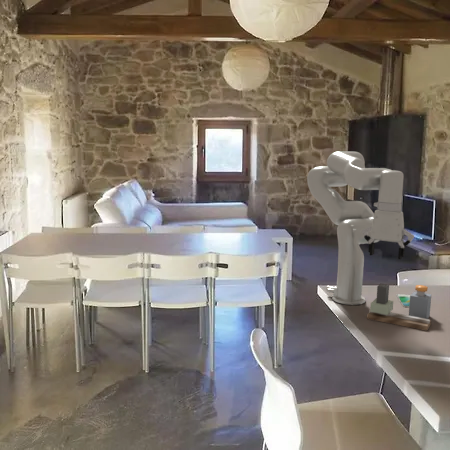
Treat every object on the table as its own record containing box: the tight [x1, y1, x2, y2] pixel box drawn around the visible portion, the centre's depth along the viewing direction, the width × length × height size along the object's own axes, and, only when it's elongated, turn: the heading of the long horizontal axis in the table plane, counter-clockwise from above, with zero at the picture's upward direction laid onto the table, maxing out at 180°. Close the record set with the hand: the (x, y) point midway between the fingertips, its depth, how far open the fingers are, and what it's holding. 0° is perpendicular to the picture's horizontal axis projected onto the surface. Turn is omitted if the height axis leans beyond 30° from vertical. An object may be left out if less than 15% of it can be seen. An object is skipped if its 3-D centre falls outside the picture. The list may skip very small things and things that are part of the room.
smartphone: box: [395, 293, 411, 308], centre depth 205 cm, size 7×1×15 cm
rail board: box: [366, 309, 432, 332], centre depth 183 cm, size 20×7×2 cm, turn 59°
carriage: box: [369, 283, 394, 315], centre depth 185 cm, size 6×7×9 cm
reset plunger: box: [414, 284, 429, 297], centre depth 186 cm, size 4×4×5 cm
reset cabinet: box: [408, 291, 432, 319], centre depth 187 cm, size 6×6×8 cm
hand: (385, 256), depth 182 cm, fingers open, 9 cm apart
